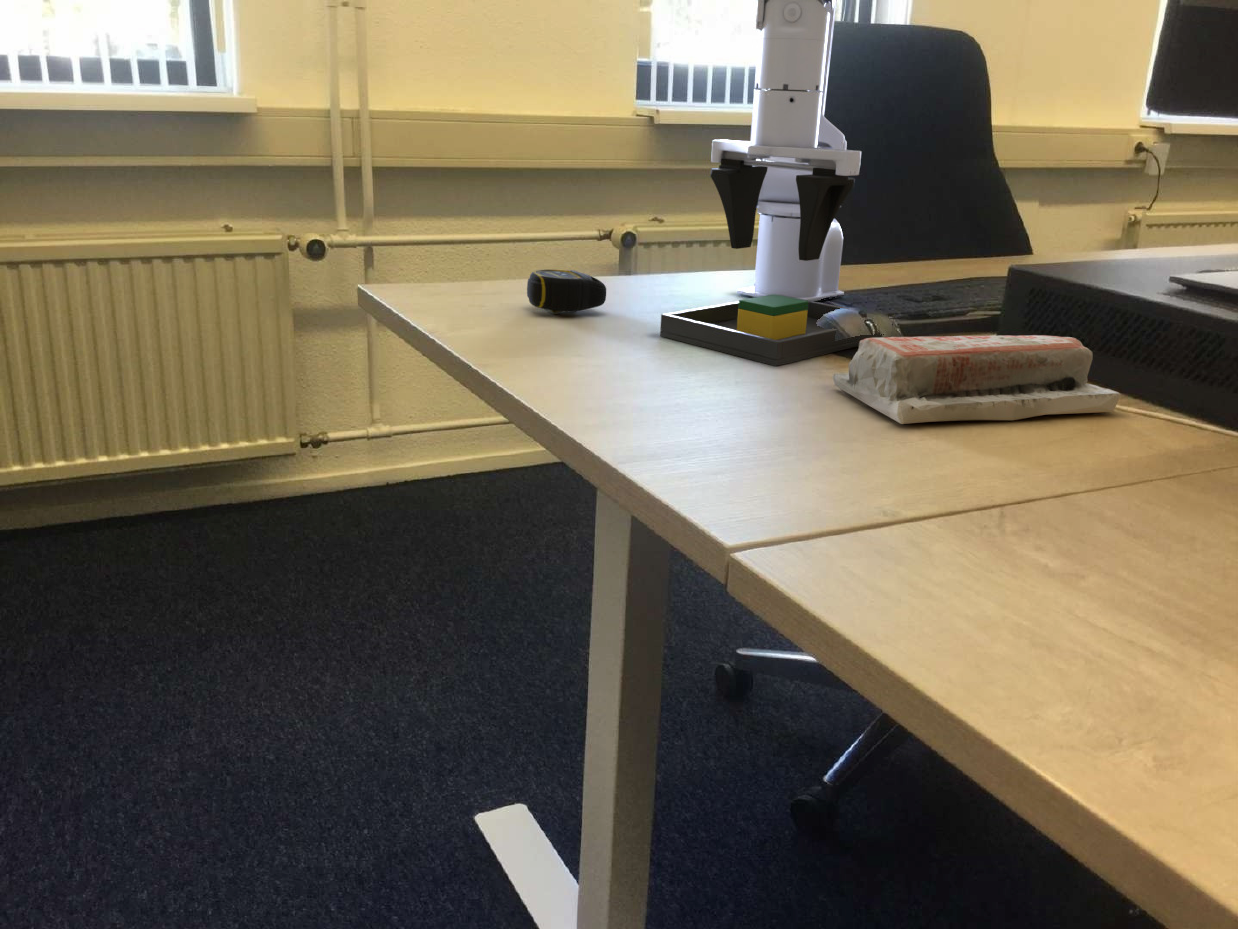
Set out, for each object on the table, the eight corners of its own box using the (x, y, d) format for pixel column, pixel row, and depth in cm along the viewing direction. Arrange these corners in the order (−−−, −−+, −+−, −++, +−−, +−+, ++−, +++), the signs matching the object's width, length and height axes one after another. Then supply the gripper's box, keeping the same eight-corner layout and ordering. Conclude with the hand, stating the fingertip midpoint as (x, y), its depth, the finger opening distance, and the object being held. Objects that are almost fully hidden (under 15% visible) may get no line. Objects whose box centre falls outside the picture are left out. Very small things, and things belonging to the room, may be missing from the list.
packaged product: (909, 358, 68) (836, 326, 77) (900, 428, 70) (830, 389, 79) (1132, 349, 73) (1040, 319, 82) (1119, 415, 75) (1030, 379, 84)
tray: (777, 314, 105) (779, 294, 104) (891, 338, 96) (893, 317, 96) (659, 335, 94) (660, 314, 93) (775, 366, 85) (778, 342, 84)
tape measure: (608, 315, 101) (610, 277, 100) (544, 320, 98) (545, 280, 97) (577, 302, 107) (578, 266, 106) (516, 306, 104) (516, 268, 103)
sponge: (770, 325, 97) (773, 294, 96) (805, 333, 95) (808, 301, 93) (736, 332, 94) (738, 299, 93) (771, 341, 91) (774, 307, 90)
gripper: (692, 86, 90) (683, 245, 94) (832, 92, 80) (814, 269, 85) (744, 88, 94) (733, 240, 99) (882, 94, 85) (862, 261, 89)
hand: (774, 253), depth 92 cm, fingers open, 7 cm apart
